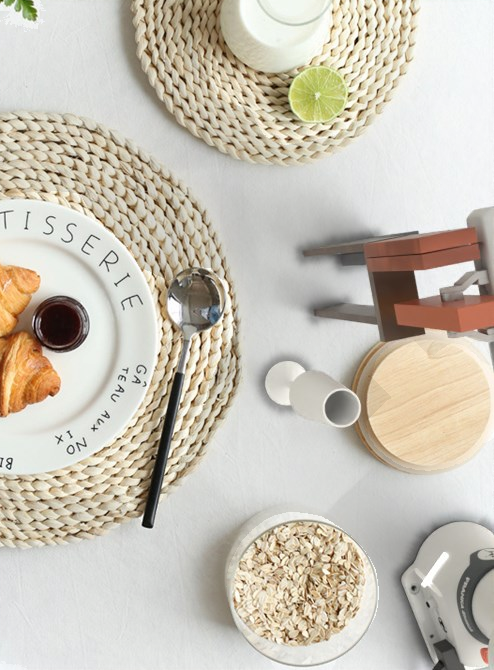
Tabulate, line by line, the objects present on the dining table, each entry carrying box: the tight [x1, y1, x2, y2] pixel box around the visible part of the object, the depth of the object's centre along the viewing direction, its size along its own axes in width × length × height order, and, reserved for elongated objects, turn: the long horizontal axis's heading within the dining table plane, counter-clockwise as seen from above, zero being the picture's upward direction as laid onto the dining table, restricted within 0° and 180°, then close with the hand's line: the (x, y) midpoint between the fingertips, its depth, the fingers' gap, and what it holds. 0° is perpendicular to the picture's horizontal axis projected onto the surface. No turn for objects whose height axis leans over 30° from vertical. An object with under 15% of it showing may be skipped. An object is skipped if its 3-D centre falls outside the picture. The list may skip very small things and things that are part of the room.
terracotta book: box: [394, 294, 494, 333], centre depth 86 cm, size 2×6×15 cm, turn 101°
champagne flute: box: [264, 360, 362, 428], centre depth 111 cm, size 7×7×24 cm
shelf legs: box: [302, 236, 397, 326], centre depth 111 cm, size 10×5×24 cm, turn 11°
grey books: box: [339, 230, 420, 267], centre depth 116 cm, size 3×6×15 cm, turn 101°
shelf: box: [363, 227, 481, 343], centre depth 91 cm, size 12×6×16 cm, turn 11°
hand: (445, 313), depth 86 cm, fingers closed on terracotta book, 2 cm apart
